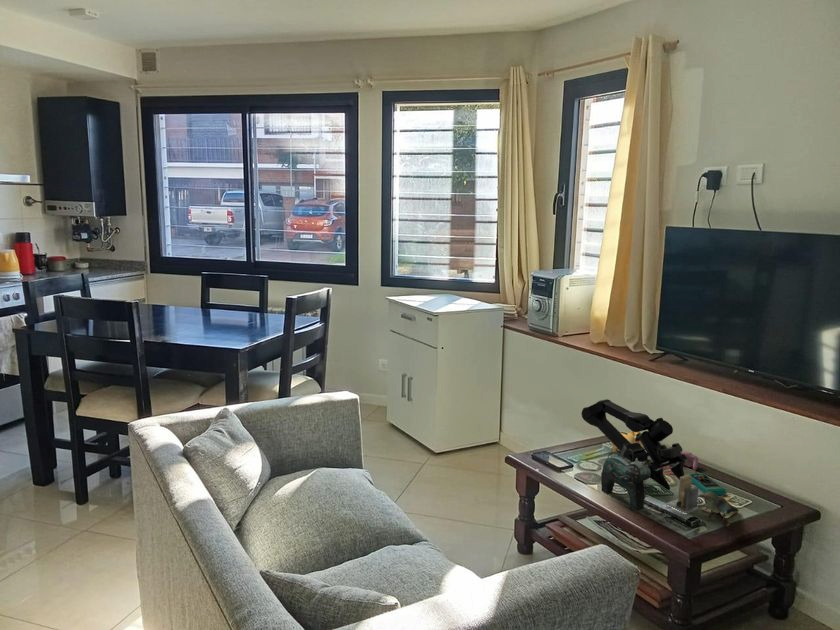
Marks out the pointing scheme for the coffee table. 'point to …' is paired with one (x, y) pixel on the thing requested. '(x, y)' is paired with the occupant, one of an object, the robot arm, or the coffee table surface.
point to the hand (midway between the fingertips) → (677, 486)
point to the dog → (629, 439)
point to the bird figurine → (718, 506)
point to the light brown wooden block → (684, 489)
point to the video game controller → (691, 460)
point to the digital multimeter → (706, 484)
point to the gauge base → (687, 501)
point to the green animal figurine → (626, 478)
